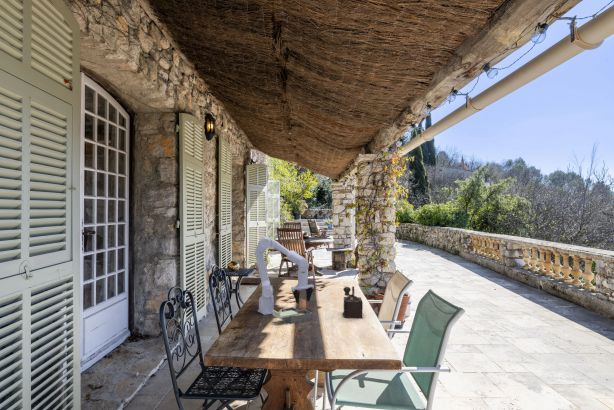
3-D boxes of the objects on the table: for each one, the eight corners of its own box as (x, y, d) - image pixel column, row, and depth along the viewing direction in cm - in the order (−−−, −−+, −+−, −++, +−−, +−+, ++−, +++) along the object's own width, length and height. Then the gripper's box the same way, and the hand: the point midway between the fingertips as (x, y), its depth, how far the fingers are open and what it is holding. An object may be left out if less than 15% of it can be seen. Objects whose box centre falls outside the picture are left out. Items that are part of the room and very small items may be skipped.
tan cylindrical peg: (297, 311, 208) (298, 299, 208) (303, 310, 210) (303, 298, 210) (301, 313, 205) (301, 301, 205) (307, 312, 207) (307, 300, 207)
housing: (276, 316, 199) (276, 309, 199) (297, 312, 207) (297, 306, 207) (291, 323, 186) (291, 317, 186) (312, 319, 193) (312, 312, 193)
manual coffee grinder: (342, 312, 207) (342, 281, 207) (361, 313, 206) (361, 282, 206) (343, 320, 191) (343, 287, 191) (363, 321, 190) (363, 288, 191)
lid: (272, 315, 188) (272, 310, 188) (291, 311, 195) (291, 306, 195) (278, 318, 182) (278, 313, 182) (298, 314, 189) (298, 309, 189)
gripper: (295, 281, 200) (295, 305, 200) (316, 278, 208) (316, 301, 208) (289, 279, 206) (289, 302, 206) (310, 276, 214) (310, 299, 214)
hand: (302, 301), depth 208 cm, fingers open, 7 cm apart
